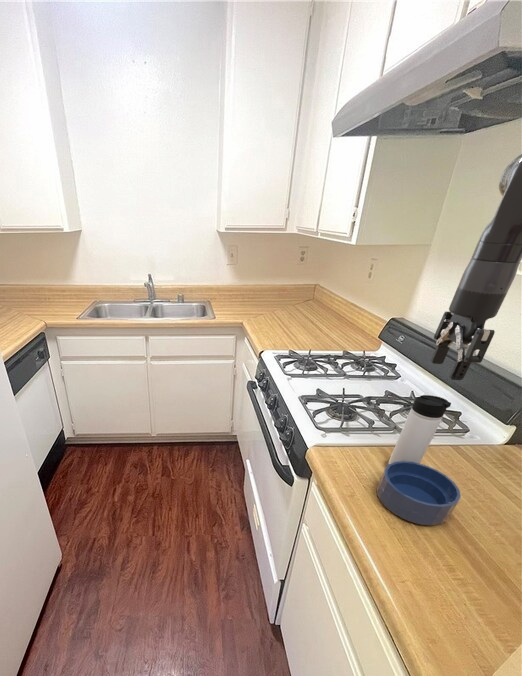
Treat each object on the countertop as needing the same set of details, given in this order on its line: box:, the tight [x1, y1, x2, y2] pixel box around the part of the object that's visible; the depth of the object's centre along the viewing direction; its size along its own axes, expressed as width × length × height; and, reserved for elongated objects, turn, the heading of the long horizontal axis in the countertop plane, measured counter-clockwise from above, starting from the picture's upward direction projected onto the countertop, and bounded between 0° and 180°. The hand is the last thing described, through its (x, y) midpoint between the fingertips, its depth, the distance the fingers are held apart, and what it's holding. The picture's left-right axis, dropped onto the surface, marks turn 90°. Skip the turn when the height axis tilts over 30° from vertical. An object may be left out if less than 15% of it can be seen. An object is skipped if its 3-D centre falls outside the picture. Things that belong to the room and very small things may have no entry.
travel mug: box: [387, 394, 452, 466], centre depth 81 cm, size 6×7×20 cm
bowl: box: [376, 461, 462, 526], centre depth 75 cm, size 14×14×6 cm
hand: (445, 370), depth 72 cm, fingers open, 8 cm apart
